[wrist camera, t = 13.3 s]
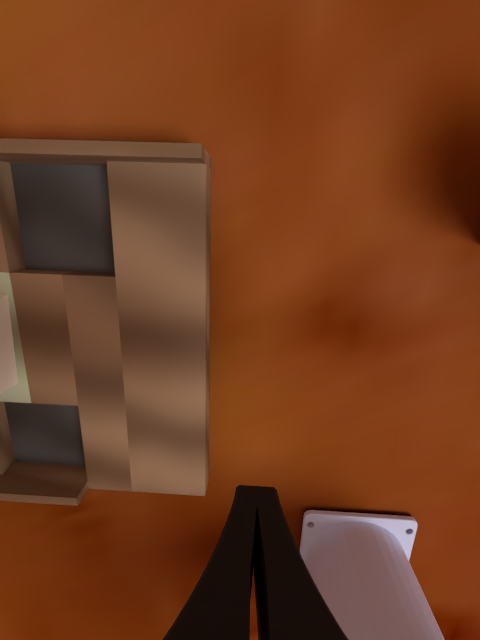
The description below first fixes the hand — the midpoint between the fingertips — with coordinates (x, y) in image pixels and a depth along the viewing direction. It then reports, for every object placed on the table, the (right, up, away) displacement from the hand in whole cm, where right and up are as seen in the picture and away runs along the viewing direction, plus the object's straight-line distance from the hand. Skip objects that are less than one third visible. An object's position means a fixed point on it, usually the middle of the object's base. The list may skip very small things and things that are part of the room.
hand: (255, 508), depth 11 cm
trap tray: (-11, +6, +9) cm, 16 cm away
